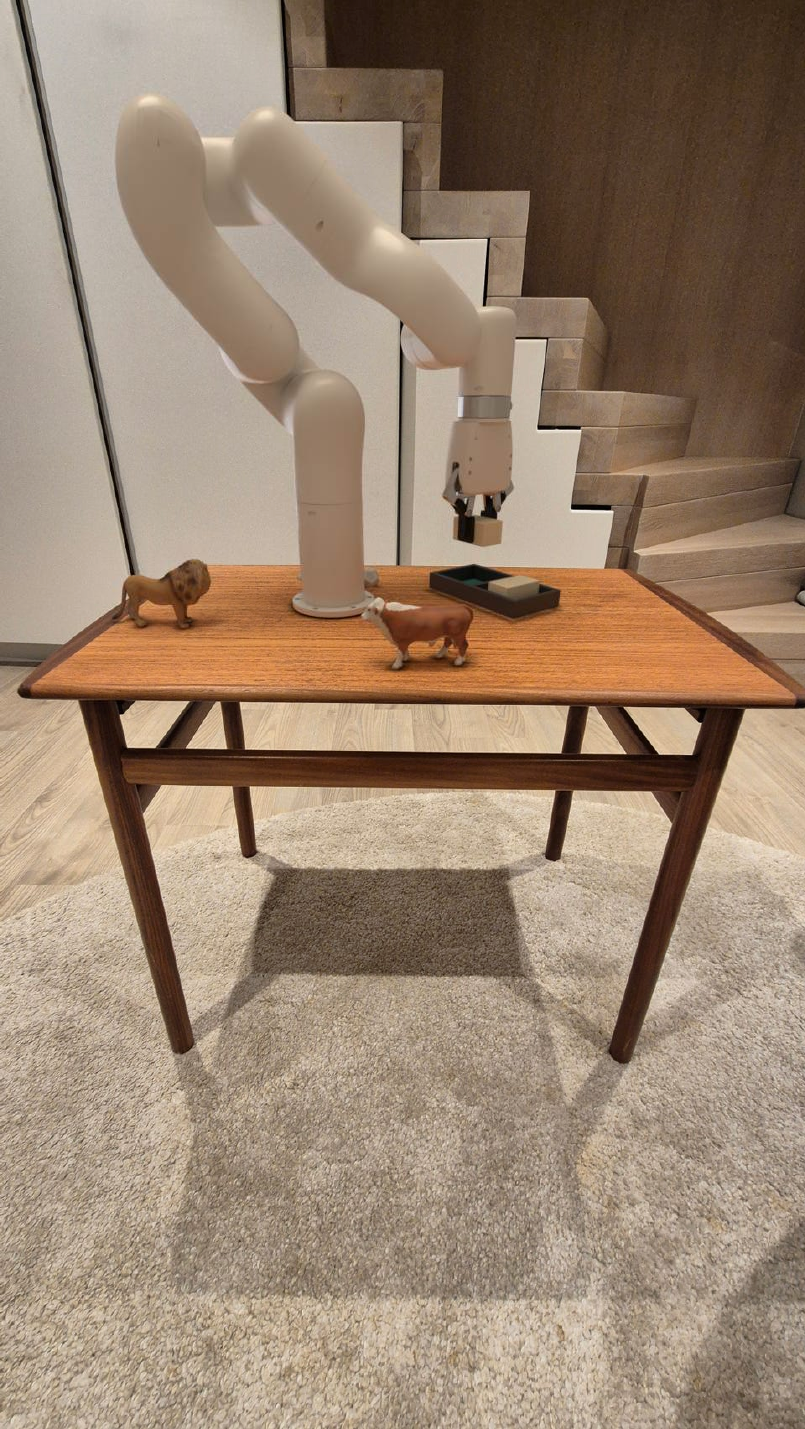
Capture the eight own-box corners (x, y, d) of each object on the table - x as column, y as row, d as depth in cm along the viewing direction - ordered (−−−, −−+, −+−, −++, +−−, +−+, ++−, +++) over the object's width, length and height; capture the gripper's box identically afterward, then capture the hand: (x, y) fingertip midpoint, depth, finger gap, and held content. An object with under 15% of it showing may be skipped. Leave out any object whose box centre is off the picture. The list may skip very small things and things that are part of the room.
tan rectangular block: (482, 547, 92) (484, 523, 90) (452, 539, 97) (453, 516, 95) (501, 543, 94) (503, 520, 92) (470, 536, 99) (472, 514, 97)
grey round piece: (359, 584, 103) (359, 566, 102) (381, 584, 103) (381, 567, 102) (357, 590, 100) (357, 572, 99) (379, 590, 100) (379, 572, 98)
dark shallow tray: (512, 622, 87) (514, 601, 85) (429, 590, 100) (429, 572, 99) (558, 609, 92) (561, 590, 90) (473, 581, 105) (474, 563, 104)
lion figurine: (221, 616, 88) (212, 554, 83) (212, 629, 83) (202, 564, 79) (119, 617, 87) (105, 554, 83) (104, 629, 82) (89, 564, 78)
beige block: (486, 604, 92) (488, 581, 90) (518, 596, 96) (520, 574, 94) (505, 611, 89) (507, 588, 88) (537, 602, 93) (540, 580, 91)
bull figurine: (362, 656, 75) (360, 593, 71) (468, 654, 76) (472, 591, 72) (362, 671, 71) (360, 604, 67) (474, 668, 72) (479, 603, 68)
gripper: (506, 408, 93) (497, 529, 102) (422, 411, 85) (420, 542, 93) (542, 410, 88) (530, 536, 97) (457, 412, 79) (452, 551, 88)
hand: (476, 538), depth 95 cm, fingers closed on tan rectangular block, 4 cm apart
